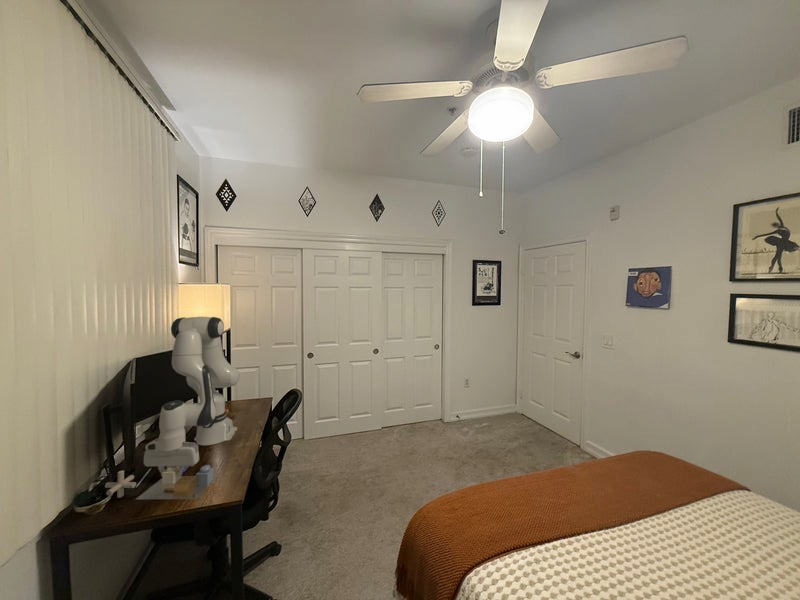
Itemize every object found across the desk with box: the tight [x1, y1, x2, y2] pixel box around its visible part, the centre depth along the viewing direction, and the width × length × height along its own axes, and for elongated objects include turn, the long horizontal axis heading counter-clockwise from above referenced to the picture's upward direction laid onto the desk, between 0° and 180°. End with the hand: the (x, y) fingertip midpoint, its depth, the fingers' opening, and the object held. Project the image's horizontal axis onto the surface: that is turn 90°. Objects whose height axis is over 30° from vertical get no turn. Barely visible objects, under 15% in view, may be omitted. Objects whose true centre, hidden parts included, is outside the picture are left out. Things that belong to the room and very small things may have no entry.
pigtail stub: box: [164, 477, 197, 495], centre depth 121 cm, size 5×11×4 cm, turn 92°
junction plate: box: [135, 475, 219, 500], centre depth 123 cm, size 15×22×1 cm
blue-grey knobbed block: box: [195, 464, 215, 485], centre depth 127 cm, size 4×4×6 cm
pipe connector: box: [104, 470, 137, 498], centre depth 117 cm, size 10×10×10 cm
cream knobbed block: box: [161, 466, 182, 484], centre depth 127 cm, size 4×4×6 cm
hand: (171, 475), depth 127 cm, fingers closed on cream knobbed block, 4 cm apart
